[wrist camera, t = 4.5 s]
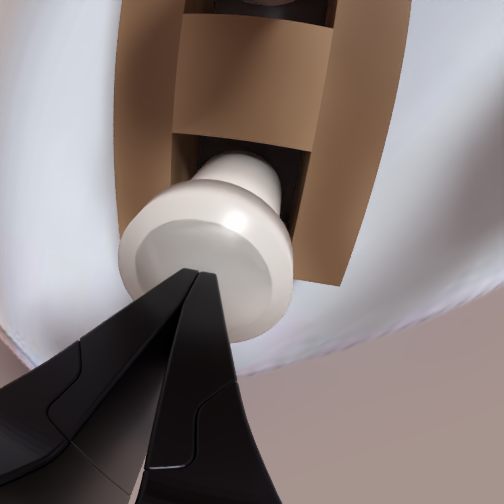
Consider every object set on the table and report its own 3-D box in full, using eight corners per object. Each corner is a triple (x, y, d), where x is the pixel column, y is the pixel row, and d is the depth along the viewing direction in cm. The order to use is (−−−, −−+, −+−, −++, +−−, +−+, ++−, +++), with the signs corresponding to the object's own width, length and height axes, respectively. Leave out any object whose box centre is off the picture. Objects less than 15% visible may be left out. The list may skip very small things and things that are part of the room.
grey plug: (303, 148, 11) (312, 217, 6) (283, 247, 14) (274, 355, 9) (186, 131, 12) (109, 186, 7) (183, 230, 14) (129, 324, 9)
